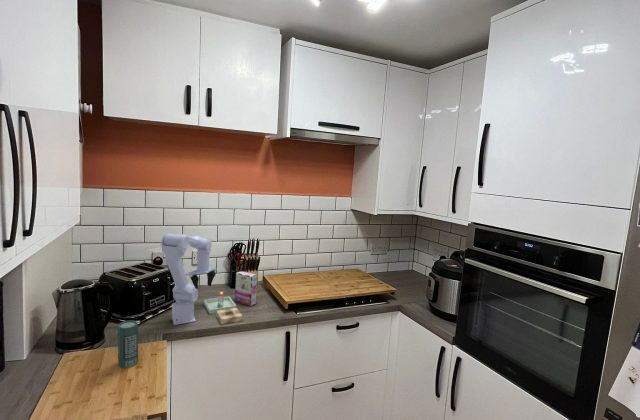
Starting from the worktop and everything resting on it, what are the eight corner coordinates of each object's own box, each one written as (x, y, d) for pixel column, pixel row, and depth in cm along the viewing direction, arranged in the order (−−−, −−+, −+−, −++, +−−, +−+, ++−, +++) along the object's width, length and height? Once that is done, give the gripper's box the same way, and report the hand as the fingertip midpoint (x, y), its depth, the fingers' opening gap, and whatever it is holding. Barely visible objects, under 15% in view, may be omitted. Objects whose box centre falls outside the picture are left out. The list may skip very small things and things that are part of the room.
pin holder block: (221, 324, 159) (221, 319, 159) (216, 315, 167) (216, 310, 167) (242, 320, 164) (242, 315, 164) (236, 312, 172) (236, 307, 172)
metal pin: (217, 308, 174) (217, 294, 173) (215, 305, 177) (215, 291, 176) (225, 307, 176) (225, 293, 175) (223, 304, 179) (223, 290, 178)
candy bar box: (256, 303, 185) (258, 274, 183) (250, 306, 180) (251, 276, 178) (240, 298, 190) (241, 270, 188) (234, 301, 185) (235, 272, 183)
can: (133, 356, 129) (133, 318, 128) (140, 363, 126) (140, 324, 124) (115, 362, 125) (115, 324, 123) (122, 370, 121) (122, 330, 119)
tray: (209, 314, 168) (209, 309, 168) (204, 304, 179) (204, 299, 179) (236, 310, 175) (236, 305, 174) (229, 300, 186) (229, 296, 186)
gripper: (194, 266, 165) (193, 293, 167) (220, 260, 176) (219, 286, 178) (186, 262, 170) (186, 289, 172) (212, 257, 181) (211, 282, 183)
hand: (202, 287), depth 175 cm, fingers open, 7 cm apart
